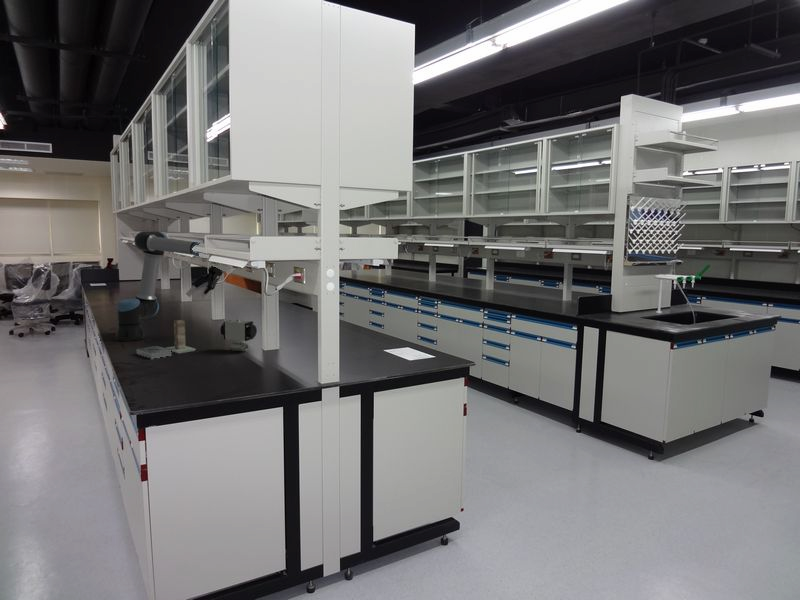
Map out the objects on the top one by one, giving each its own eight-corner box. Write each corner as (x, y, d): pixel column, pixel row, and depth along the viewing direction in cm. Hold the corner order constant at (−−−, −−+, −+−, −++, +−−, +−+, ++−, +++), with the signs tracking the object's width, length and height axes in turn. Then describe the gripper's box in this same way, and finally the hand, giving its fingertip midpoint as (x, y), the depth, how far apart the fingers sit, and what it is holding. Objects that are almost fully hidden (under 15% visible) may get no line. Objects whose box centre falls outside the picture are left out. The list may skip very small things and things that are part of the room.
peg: (174, 348, 277) (173, 320, 275) (181, 347, 280) (181, 320, 278) (178, 349, 274) (177, 321, 272) (185, 348, 277) (184, 320, 276)
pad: (164, 349, 278) (164, 347, 278) (182, 346, 285) (182, 345, 285) (177, 353, 269) (177, 351, 269) (195, 350, 276) (195, 348, 276)
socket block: (136, 354, 265) (136, 348, 265) (156, 351, 273) (156, 345, 273) (151, 359, 255) (150, 353, 255) (171, 356, 263) (171, 350, 263)
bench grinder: (258, 350, 280) (258, 318, 278) (250, 353, 272) (249, 320, 270) (229, 348, 284) (228, 316, 282) (220, 351, 276) (219, 318, 274)
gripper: (233, 274, 292) (210, 303, 282) (210, 272, 308) (187, 298, 298) (225, 265, 287) (200, 294, 278) (202, 263, 303) (178, 290, 293)
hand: (193, 296), depth 288 cm, fingers open, 13 cm apart
